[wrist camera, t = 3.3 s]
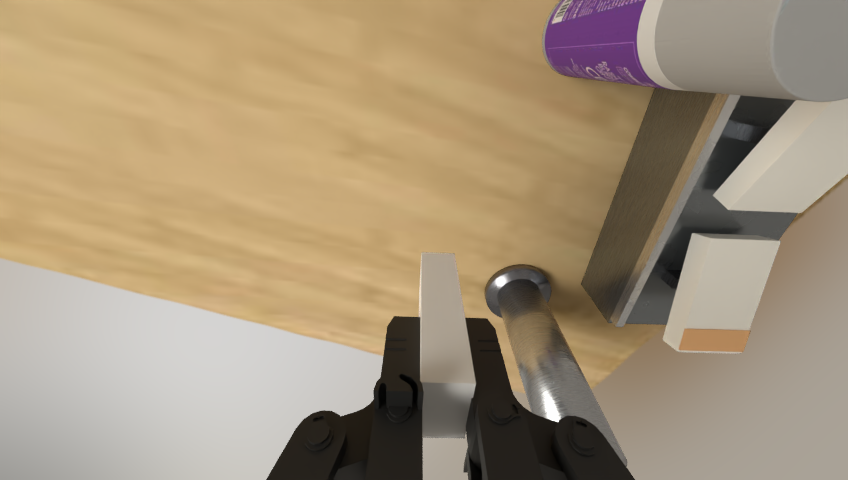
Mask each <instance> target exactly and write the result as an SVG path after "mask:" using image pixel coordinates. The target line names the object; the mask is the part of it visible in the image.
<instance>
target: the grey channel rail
mask: <svg viewBox="0 0 848 480" xmlns="http://www.w3.org/2000/svg"><path fill="white" fill-rule="evenodd" d="M795 101H796V100H790V99H778V98H766V97H755V96H743V95H731V94H719V93H707V92H696V91H683V90H671V89H663V88H655V90H654V92H653V95H652V98H651V100H650V103H649V106H648V108H647V111H646V114H645V116H644V119H643V122H642V124H641V127H640V130H639V132H638V135H637V137H636V140H635V143H634V145H633V148H632V151H631V153H630V156H629V159H628V161H627V164H626V167H625V169H624V172H623V175H622V177H621V180H620V183H619V185H618V188H617V190H616V193H615V196H614V198H613V201H612V204H611V206H610V209H609V212H608V214H607V217H606V220H605V222H604V225H603V228H602V230H601V233H600V235H599V238H598V241H597V243H596V246H595V249H594V251H593V254H592V257H591V259H590V262H589V265H588V267H587V270H586V273H585V275H584V278H583V280H582V283H581V285H582V286H583V287H584V289H585V290H586V292H587V293H588V295H589V296H590V297H591V299H592V300H593V302H594V303H595V305H596V306H597V307H598V309H599V310H600V312H601V313H602V314H603V316H604V317H605V319H606V320H607V322H608V323H613V324H614V325H615V327H623V326H624V324H625V323H628V324H663V325H667V322H668V319H669V315H670V311H671V308H672V304H673V301H674V297H675V293H676V290H677V286H678V282H679V279H680V275H681V272H682V268H683V264H684V261H685V257H686V254H687V250H688V246H689V243H690V239H691V235H692V233H708V234H735V235H758V236H762V237H766V238H771V239H775V240H779V239H780V237H781V236H782V235H783V233H784V232H785V230H786V229H787V228H788V226H789V225H790V223H791V222H792V221H793V219H794V218H795V216H796V215H797V214H798V213H791V212H766V211H741V210H728V209H727V208H726V207H725V206H724V205H722V204H721V203H720V202H719V201H718V200H717V199H716V198H715V197H714V196H713V194H714V193H715V192H716V191H717V190H718V189H719V188H720V186H721V185H722V184H723V183H724V182H725V181H726V180H727V178H728V177H729V176H730V175H731V174H732V173H733V172H734V170H735V169H736V168H737V167H738V166H739V165H740V164H741V162H742V161H743V160H744V159H745V158H746V157H747V156H748V154H749V153H750V152H751V151H752V150H753V149H754V148H755V146H756V145H757V144H758V143H759V142H760V141H761V140H762V138H763V137H764V136H765V135H766V134H767V133H768V132H769V130H770V129H771V128H772V127H773V126H774V125H775V124H776V122H777V121H778V120H779V119H780V118H781V117H782V116H783V114H784V113H785V112H786V111H787V110H788V109H789V108H790V106H791V105H792V104H793V103H794V102H795Z"/></svg>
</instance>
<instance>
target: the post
mask: <svg viewBox="0 0 848 480" xmlns="http://www.w3.org/2000/svg"><path fill="white" fill-rule="evenodd" d="M550 296H551V286H550V283H549V281H548V280H547V278H546V276H545V275H544V273H543V272H542V271H541V270H539V269H537V268H535V267H533V266H529V265H513V266H509V267H506V268H504V269H501V270H500V271H498V272H497V273H495V274H494V275H493V276H492V277H491V278H490V280H489V281H488V283H487V285H486V288H485V298H486V302H487V305H488V307H489V309H490V310H491V311H492V312H493V313H494V314H495V315H497V316H499V317H502V318H503V321H504V324H505V327H506V331H507V334H508V337H509V340H510V344H511V347H512V350H513V353H514V356H515V360H516V363H517V366H518V369H519V373H520V376H521V379H522V382H523V386H524V389H525V392H526V395H527V398H528V402H529V405H530V408H531V411H532V413H534V414H536V415H538V416H541V417H544V418H547V419H550V420H553V421H556V422H559V420H560V419H562V418H563V417H565V416H578V417H581V418H584V419H586V420H587V421H589V422H590V423H592V424H593V425H595V426H596V427H597V428H598V429H599V431H600V432H601V433H602V434H603V435H604V436H605V438H606V439H607V441H608V442H609V443H610V445H611V446H612V448H613V449H614V451H615V452H616V453H617V455H618V456H619V458H620V459H621V461H622V462H623V463H624V465H625V466H627V459H626V457H625V456H624V454H623V452H622V450H621V448H620V446H619V444H618V442H617V440H616V438H615V436H614V434H613V432H612V430H611V428H610V426H609V424H608V422H607V420H606V418H605V416H604V414H603V412H602V410H601V408H600V406H599V404H598V402H597V401H596V399H595V397H594V395H593V393H592V391H591V389H590V387H589V385H588V383H587V381H586V379H585V377H584V375H583V373H582V371H581V369H580V367H579V365H578V363H577V361H576V359H575V357H574V355H573V353H572V351H571V349H570V347H569V346H568V344H567V342H566V340H565V338H564V336H563V334H562V332H561V330H560V328H559V326H558V324H557V322H556V320H555V318H554V316H553V314H552V312H551V310H550V308H549V306H548V304H547V302H548V301H549V299H550Z"/></svg>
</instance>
